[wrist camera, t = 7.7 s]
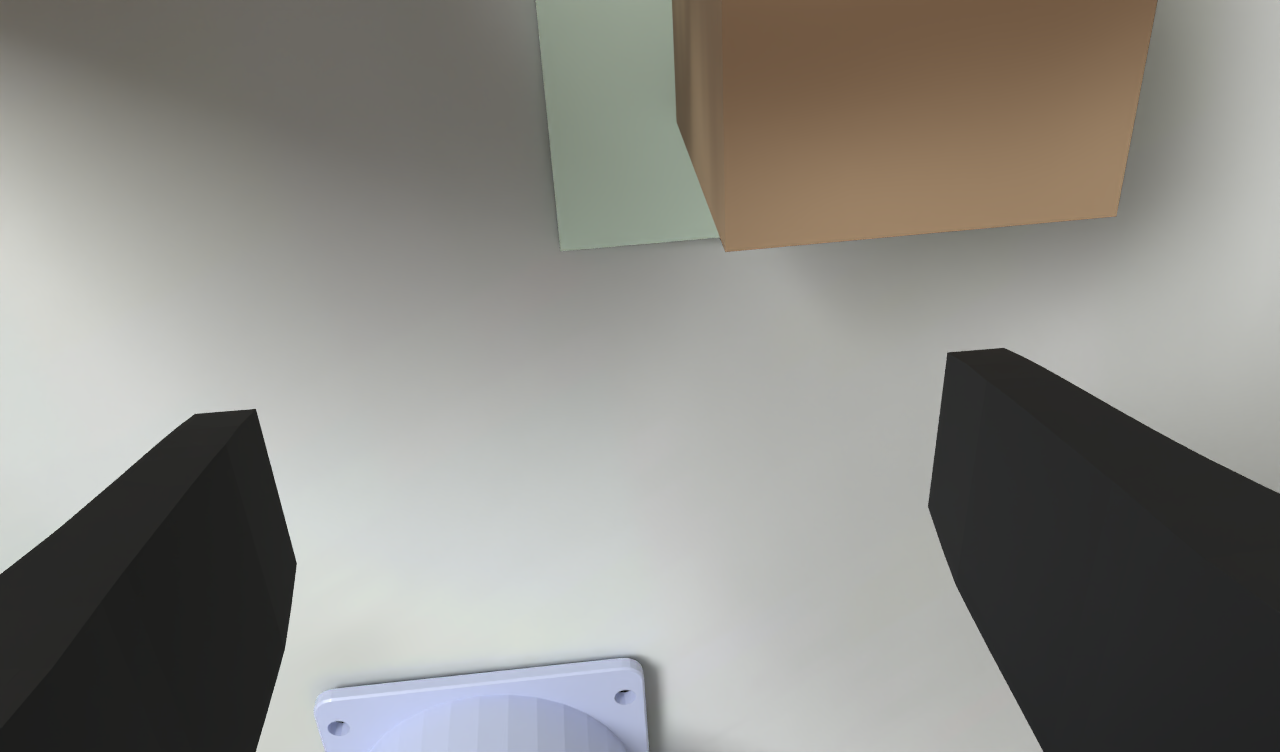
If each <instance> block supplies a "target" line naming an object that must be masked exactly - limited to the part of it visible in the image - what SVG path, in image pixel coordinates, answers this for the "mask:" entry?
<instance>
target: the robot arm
mask: <svg viewBox="0 0 1280 752" xmlns="http://www.w3.org/2000/svg"><path fill="white" fill-rule="evenodd" d="M928 508H929V511H930V514H931V517H932V520H933V523H934V525H935V528H936V531H937V534H938V537H939V540H940V543H941V546H942V549H943V552H944V555H945V557H946V560H947V563H948V565H949V568H950V571H951V573H952V576H953V579H954V581H955V584H956V586H957V588H958V590H959V592H960V594H961V596H962V598H963V600H964V602H965V604H966V606H967V608H968V610H969V612H970V614H971V616H972V618H973V620H974V621H975V623H976V625H977V627H978V629H979V631H980V633H981V635H982V637H983V639H984V641H985V643H986V645H987V646H988V648H989V650H990V652H991V654H992V656H993V658H994V660H995V661H996V663H997V665H998V667H999V669H1000V671H1001V673H1002V675H1003V677H1004V678H1005V680H1006V682H1007V684H1008V686H1009V688H1010V690H1011V692H1012V693H1013V695H1014V697H1015V699H1016V701H1017V703H1018V705H1019V707H1020V708H1021V710H1022V712H1023V714H1024V716H1025V718H1026V720H1027V722H1028V724H1029V725H1030V727H1031V729H1032V731H1033V733H1034V735H1035V737H1036V739H1037V740H1038V742H1039V744H1040V746H1041V748H1042V750H1043V752H1280V494H1279V493H1277V492H1275V491H1273V490H1271V489H1269V488H1266V487H1264V486H1262V485H1260V484H1258V483H1256V482H1254V481H1252V480H1250V479H1248V478H1246V477H1244V476H1242V475H1240V474H1238V473H1236V472H1234V471H1232V470H1230V469H1228V468H1226V467H1224V466H1222V465H1220V464H1218V463H1216V462H1214V461H1212V460H1209V459H1207V458H1206V457H1204V456H1202V455H1200V454H1198V453H1196V452H1194V451H1192V450H1190V449H1188V448H1187V447H1185V446H1183V445H1181V444H1179V443H1177V442H1175V441H1173V440H1171V439H1170V438H1168V437H1166V436H1164V435H1162V434H1160V433H1159V432H1157V431H1155V430H1153V429H1151V428H1150V427H1148V426H1146V425H1144V424H1142V423H1141V422H1139V421H1137V420H1135V419H1133V418H1132V417H1130V416H1128V415H1126V414H1124V413H1123V412H1121V411H1119V410H1117V409H1116V408H1114V407H1112V406H1110V405H1109V404H1107V403H1105V402H1103V401H1102V400H1100V399H1098V398H1096V397H1095V396H1093V395H1091V394H1089V393H1088V392H1086V391H1084V390H1082V389H1081V388H1079V387H1077V386H1075V385H1074V384H1072V383H1070V382H1068V381H1067V380H1065V379H1063V378H1061V377H1060V376H1058V375H1056V374H1054V373H1052V372H1051V371H1049V370H1047V369H1045V368H1043V367H1042V366H1040V365H1038V364H1036V363H1034V362H1032V361H1030V360H1028V359H1026V358H1024V357H1022V356H1020V355H1018V354H1016V353H1014V352H1012V351H1010V350H1007V349H1005V348H998V349H986V350H973V351H961V352H949V353H947V361H946V369H945V377H944V385H943V393H942V401H941V409H940V416H939V424H938V432H937V440H936V448H935V456H934V464H933V472H932V480H931V488H930V495H929V503H928ZM296 565H297V563H296V559H295V555H294V552H293V548H292V544H291V540H290V536H289V533H288V529H287V525H286V521H285V517H284V514H283V510H282V506H281V502H280V499H279V495H278V491H277V487H276V483H275V480H274V476H273V472H272V468H271V465H270V461H269V457H268V453H267V449H266V446H265V442H264V438H263V434H262V430H261V427H260V423H259V419H258V415H257V412H256V409H251V410H238V411H226V412H214V413H202V414H195V415H193V416H192V417H190V418H189V419H188V420H186V421H185V422H184V423H182V424H181V425H180V426H178V427H177V428H176V429H175V430H174V431H172V432H171V433H170V434H169V435H167V436H166V437H165V438H164V439H163V440H162V441H160V442H159V443H158V444H157V445H156V446H155V447H153V448H152V449H151V450H150V451H149V452H148V453H146V454H145V455H144V456H143V457H142V458H141V459H139V460H138V461H137V462H136V463H135V464H134V465H133V466H131V467H130V468H129V469H128V470H127V471H126V472H125V473H123V474H122V475H121V476H120V477H119V478H118V479H116V480H115V481H114V482H113V483H112V484H111V485H109V486H108V487H107V488H106V489H105V490H104V491H102V492H101V493H100V494H99V495H98V496H97V497H95V498H94V499H93V500H92V501H91V502H89V503H88V504H87V505H86V506H85V507H84V508H82V509H81V510H80V511H79V512H78V513H77V514H75V515H74V516H73V517H72V518H71V519H70V520H68V521H67V522H66V523H65V524H64V525H63V526H61V527H60V528H59V529H58V530H56V531H55V532H54V533H53V534H51V535H50V536H49V537H48V538H46V539H45V540H44V541H43V542H41V543H40V544H39V545H37V546H36V547H35V548H34V549H32V550H31V551H30V552H28V553H27V554H26V555H25V556H23V557H22V558H21V559H19V560H18V561H17V562H16V563H14V564H13V565H12V566H10V567H9V568H8V569H7V570H5V571H4V572H3V573H2V574H0V752H256V749H257V745H258V742H259V738H260V735H261V732H262V728H263V725H264V721H265V718H266V714H267V711H268V707H269V704H270V700H271V697H272V693H273V690H274V686H275V683H276V679H277V676H278V672H279V668H280V665H281V661H282V657H283V654H284V650H285V644H286V638H287V631H288V625H289V618H290V612H291V604H292V597H293V589H294V581H295V573H296ZM622 690H630V691H628V692H619V691H622ZM314 717H315V720H316V723H317V727H318V730H319V733H320V736H321V740H322V743H323V746H324V749H325V752H649V741H648V727H647V713H646V699H645V685H644V675H643V669H642V666H641V664H639V663H638V662H637V661H636V660H633V659H630V658H616V659H607V660H597V661H588V662H578V663H569V664H560V665H550V666H541V667H532V668H522V669H513V670H504V671H494V672H485V673H476V674H466V675H457V676H448V677H438V678H429V679H420V680H410V681H401V682H391V683H382V684H373V685H363V686H354V687H345V688H335V689H330V690H326V691H324V692H322V693H321V694H319V695H318V697H317V699H316V702H315V706H314ZM335 721H343V722H345V723H337V722H335Z"/></svg>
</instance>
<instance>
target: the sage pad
mask: <svg viewBox="0 0 1280 752" xmlns="http://www.w3.org/2000/svg"><path fill="white" fill-rule="evenodd" d="M535 1H536V11H537V21H538V32H539V42H540V52H541V62H542V72H543V82H544V92H545V102H546V112H547V122H548V132H549V142H550V152H551V162H552V172H553V182H554V192H555V202H556V212H557V222H558V232H559V242H560V251H571V250H582V249H594V248H605V247H617V246H628V245H640V244H651V243H663V242H674V241H686V240H697V239H708V238H720V236H719V234H718V231H717V228H716V226H715V223H714V220H713V218H712V215H711V212H710V210H709V207H708V204H707V202H706V199H705V196H704V194H703V191H702V189H701V186H700V183H699V181H698V178H697V175H696V173H695V170H694V167H693V165H692V162H691V159H690V157H689V154H688V151H687V149H686V146H685V143H684V141H683V138H682V136H681V133H680V130H679V128H678V125H677V121H676V95H675V69H674V43H673V17H672V0H535Z"/></svg>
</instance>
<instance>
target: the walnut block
mask: <svg viewBox="0 0 1280 752" xmlns="http://www.w3.org/2000/svg"><path fill="white" fill-rule="evenodd" d="M1157 1H1158V0H672V17H673V43H674V69H675V95H676V121H677V125H678V128H679V130H680V133H681V136H682V138H683V141H684V143H685V146H686V149H687V151H688V154H689V157H690V159H691V162H692V165H693V167H694V170H695V173H696V175H697V178H698V181H699V183H700V186H701V189H702V191H703V194H704V196H705V199H706V202H707V204H708V207H709V210H710V212H711V215H712V218H713V220H714V223H715V226H716V228H717V231H718V234H719V236H720V239H721V242H722V244H723V247H724V249H725V252H730V251H741V250H752V249H763V248H774V247H785V246H796V245H807V244H818V243H829V242H840V241H851V240H862V239H873V238H884V237H895V236H906V235H917V234H928V233H939V232H950V231H961V230H972V229H983V228H994V227H1005V226H1016V225H1027V224H1038V223H1049V222H1060V221H1071V220H1082V219H1093V218H1104V217H1115V216H1116V215H1117V210H1118V205H1119V200H1120V194H1121V189H1122V184H1123V179H1124V173H1125V168H1126V163H1127V158H1128V152H1129V147H1130V142H1131V137H1132V131H1133V126H1134V121H1135V116H1136V111H1137V105H1138V100H1139V95H1140V90H1141V84H1142V79H1143V74H1144V69H1145V63H1146V58H1147V53H1148V48H1149V42H1150V37H1151V32H1152V27H1153V22H1154V16H1155V11H1156V6H1157Z"/></svg>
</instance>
